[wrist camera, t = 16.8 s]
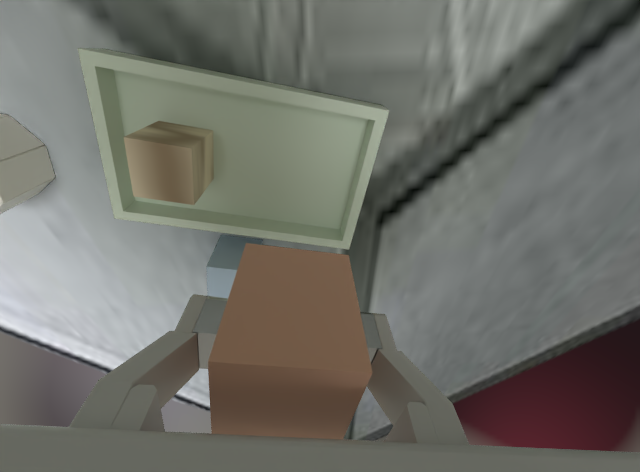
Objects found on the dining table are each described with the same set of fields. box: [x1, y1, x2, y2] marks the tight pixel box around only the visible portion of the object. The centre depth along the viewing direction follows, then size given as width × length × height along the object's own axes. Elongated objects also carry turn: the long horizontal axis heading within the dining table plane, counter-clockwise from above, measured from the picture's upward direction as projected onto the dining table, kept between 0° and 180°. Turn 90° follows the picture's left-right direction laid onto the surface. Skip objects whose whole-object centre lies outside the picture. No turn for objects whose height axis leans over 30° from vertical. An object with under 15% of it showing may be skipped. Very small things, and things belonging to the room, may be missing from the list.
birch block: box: [124, 121, 214, 205], centre depth 21 cm, size 4×4×5 cm
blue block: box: [207, 235, 263, 298], centre depth 28 cm, size 4×4×5 cm
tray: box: [78, 48, 389, 249], centre depth 23 cm, size 20×12×3 cm, turn 79°
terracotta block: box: [208, 243, 372, 439], centre depth 10 cm, size 4×4×5 cm
